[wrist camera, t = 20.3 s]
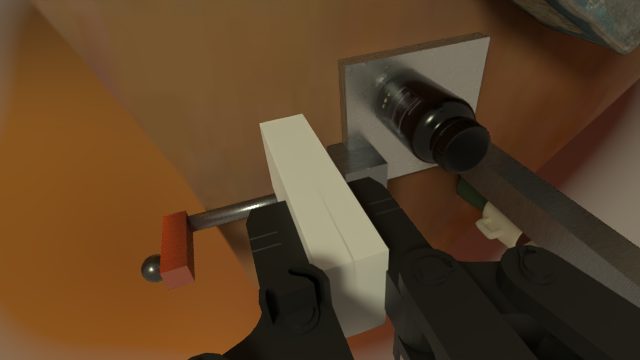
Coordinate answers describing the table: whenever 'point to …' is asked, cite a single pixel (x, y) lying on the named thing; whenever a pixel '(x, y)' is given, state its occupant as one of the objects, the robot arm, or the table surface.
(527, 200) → the press
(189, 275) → the lever
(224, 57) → the table surface
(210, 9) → the table surface
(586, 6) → the metal box
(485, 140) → the supplement bottle
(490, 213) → the character mug
